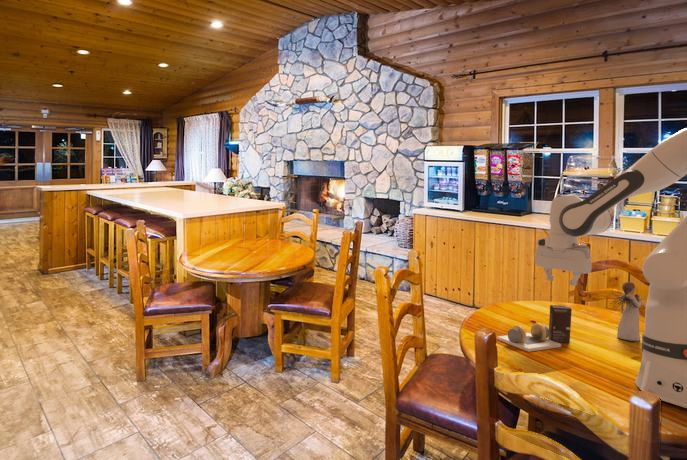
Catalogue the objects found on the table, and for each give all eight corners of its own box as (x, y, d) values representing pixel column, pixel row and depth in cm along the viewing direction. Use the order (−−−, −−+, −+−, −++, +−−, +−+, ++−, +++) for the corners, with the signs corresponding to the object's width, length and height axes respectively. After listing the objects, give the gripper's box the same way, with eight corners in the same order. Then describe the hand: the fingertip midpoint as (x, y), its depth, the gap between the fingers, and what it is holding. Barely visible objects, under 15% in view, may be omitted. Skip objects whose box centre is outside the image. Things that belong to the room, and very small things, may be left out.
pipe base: (560, 346, 143) (561, 328, 142) (528, 351, 137) (529, 332, 137) (527, 335, 155) (528, 318, 155) (497, 339, 150) (497, 321, 150)
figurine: (644, 340, 151) (646, 283, 150) (630, 345, 145) (632, 285, 144) (614, 333, 159) (616, 279, 158) (599, 337, 154) (602, 281, 153)
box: (551, 342, 147) (552, 307, 147) (548, 338, 152) (549, 304, 151) (570, 343, 146) (572, 308, 146) (566, 339, 151) (568, 305, 150)
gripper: (597, 245, 139) (595, 287, 140) (545, 240, 158) (544, 277, 159) (583, 245, 137) (581, 288, 137) (532, 240, 156) (531, 278, 156)
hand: (561, 282), depth 148 cm, fingers open, 8 cm apart
